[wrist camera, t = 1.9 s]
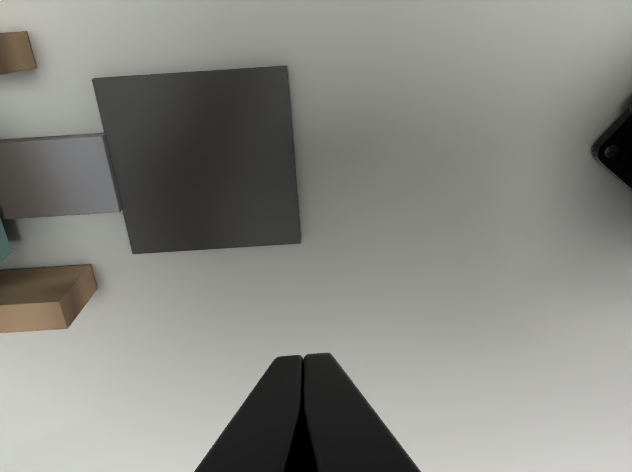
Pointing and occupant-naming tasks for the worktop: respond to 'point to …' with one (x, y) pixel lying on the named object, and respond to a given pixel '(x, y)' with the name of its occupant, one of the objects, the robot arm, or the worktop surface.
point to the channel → (152, 174)
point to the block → (4, 243)
